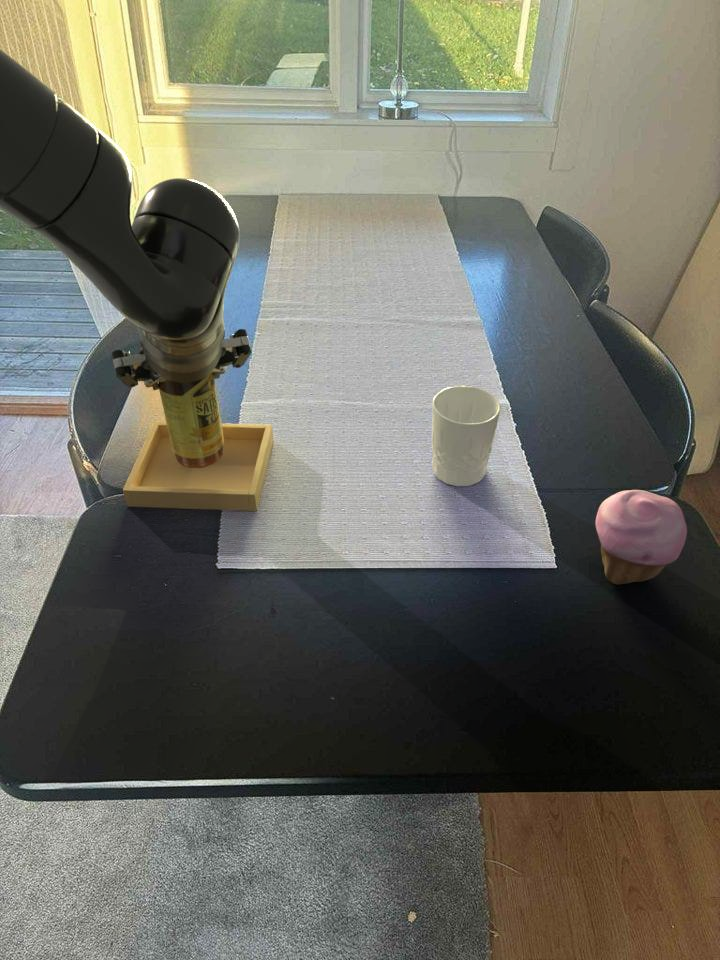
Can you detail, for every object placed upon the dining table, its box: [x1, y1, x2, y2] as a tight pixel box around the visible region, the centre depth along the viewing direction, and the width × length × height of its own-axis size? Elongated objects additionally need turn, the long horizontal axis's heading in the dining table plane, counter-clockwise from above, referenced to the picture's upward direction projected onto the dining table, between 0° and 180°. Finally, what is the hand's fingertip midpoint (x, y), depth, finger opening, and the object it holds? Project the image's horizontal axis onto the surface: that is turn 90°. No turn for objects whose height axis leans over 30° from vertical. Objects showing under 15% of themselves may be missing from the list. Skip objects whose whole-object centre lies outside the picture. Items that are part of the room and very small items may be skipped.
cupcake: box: [595, 489, 688, 585], centre depth 72 cm, size 9×9×10 cm
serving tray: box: [122, 420, 275, 512], centre depth 87 cm, size 16×14×3 cm
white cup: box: [431, 385, 502, 487], centre depth 85 cm, size 8×8×10 cm
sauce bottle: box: [158, 373, 224, 468], centre depth 79 cm, size 6×6×20 cm
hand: (184, 375), depth 80 cm, fingers closed on sauce bottle, 6 cm apart
